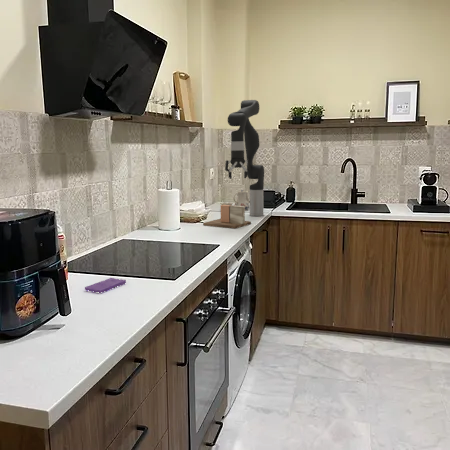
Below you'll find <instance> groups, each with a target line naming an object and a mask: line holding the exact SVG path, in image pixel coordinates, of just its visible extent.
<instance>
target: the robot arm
mask: <svg viewBox="0 0 450 450" xmlns="http://www.w3.org/2000/svg"><path fill="white" fill-rule="evenodd" d="M259 112H260V103H259V101H258V100H257V99H247V100H246V99H244V100H242V101H241V102H240V108H239V109H238V110H237V111H234V112H231V113H230V114H228V116H227V124H228V125H229V126H231V127H239V128H238V129H236V130H232V131H231V135H230V140H231V141H230V160H228V159H226V160H225V163H224V164H225V165H224V170H225V171H226V172H228V178H229V179H230V180H231V179H232V178H233V175H232V171H233V170H234V169H235V168H236V169H237V168H239V169H242V170H243V178H244V179H247V177H248V179H249V180H257V182H255V183H252V184H250V185H249V201H250V203H249V216H251V217H262V216H264V189H265V188H264V187H265V186H264V185H265V183H264V182H265V180H264V179H265V167H264V166H263V165H262V164H261V165H260V164H254V163H253V162H254V158H255V156H256V153H257V152H258V150H259V149H260V135H259V133H258V132H257V130H256V129H255V127H254V126H253V125H252V123H251V121H250V118H251V117H253V116H257V115H258V114H259ZM245 155H246V157H245ZM230 164H231V165H230ZM244 164H246V166H245V165H244ZM229 165H230V167H229Z"/></svg>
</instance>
